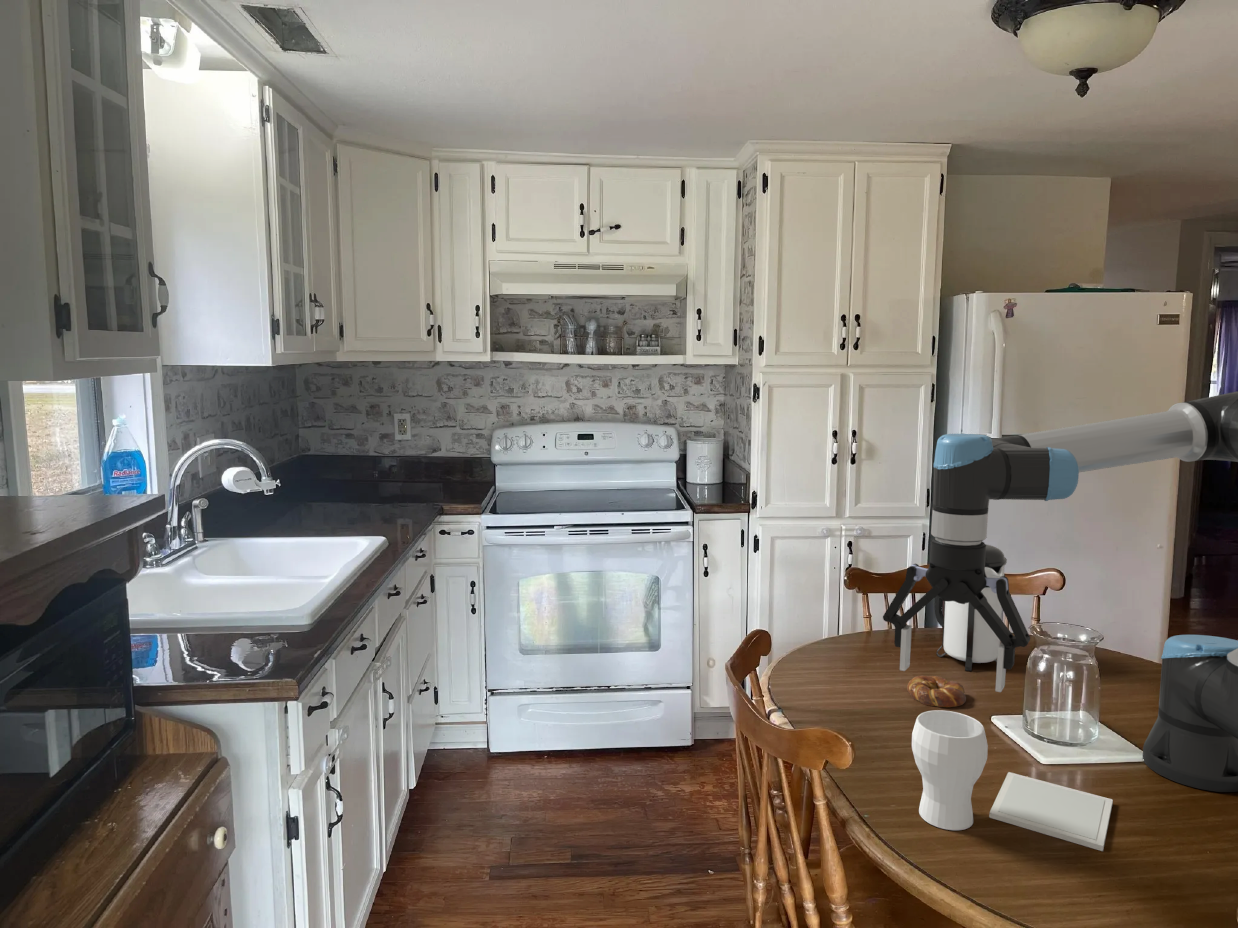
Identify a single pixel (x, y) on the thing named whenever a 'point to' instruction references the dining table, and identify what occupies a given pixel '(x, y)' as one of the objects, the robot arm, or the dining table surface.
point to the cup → (948, 766)
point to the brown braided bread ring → (936, 691)
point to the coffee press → (972, 620)
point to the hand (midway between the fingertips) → (950, 678)
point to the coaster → (1053, 810)
